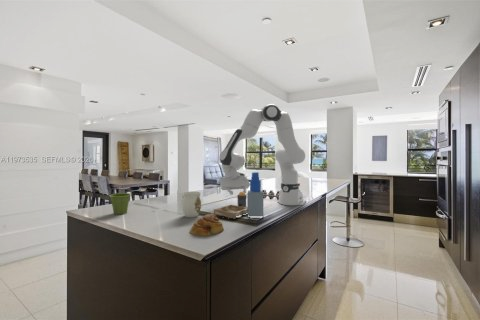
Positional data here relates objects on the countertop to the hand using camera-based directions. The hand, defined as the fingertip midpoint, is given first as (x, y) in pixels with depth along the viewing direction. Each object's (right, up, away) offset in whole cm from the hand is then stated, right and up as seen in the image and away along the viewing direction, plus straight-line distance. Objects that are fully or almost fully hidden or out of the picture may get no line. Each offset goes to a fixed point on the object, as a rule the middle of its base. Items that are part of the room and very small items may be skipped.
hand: (238, 193), depth 159 cm
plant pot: (-71, -10, -12) cm, 73 cm away
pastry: (-14, -11, -46) cm, 49 cm away
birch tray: (-3, -10, -17) cm, 20 cm away
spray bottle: (+10, -10, -22) cm, 26 cm away
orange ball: (+2, 0, -4) cm, 5 cm away
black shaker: (+2, -9, -4) cm, 10 cm away
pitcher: (-26, -10, -19) cm, 34 cm away
